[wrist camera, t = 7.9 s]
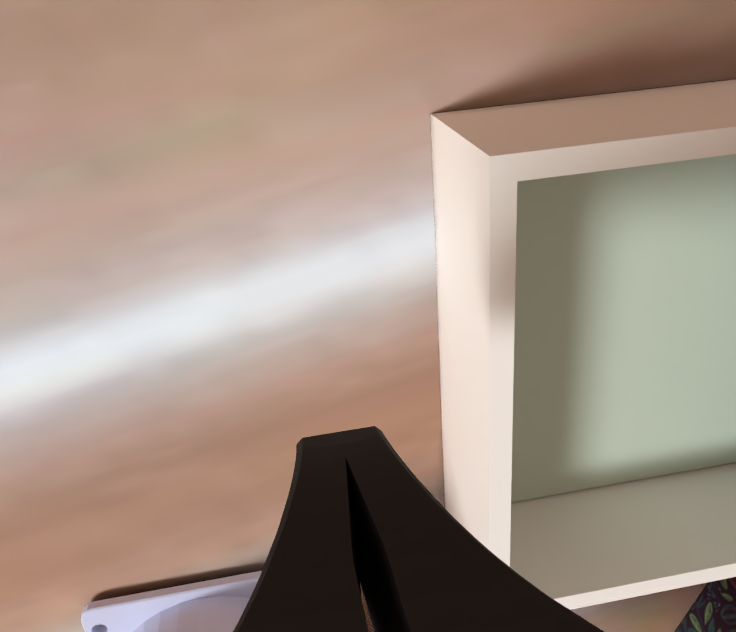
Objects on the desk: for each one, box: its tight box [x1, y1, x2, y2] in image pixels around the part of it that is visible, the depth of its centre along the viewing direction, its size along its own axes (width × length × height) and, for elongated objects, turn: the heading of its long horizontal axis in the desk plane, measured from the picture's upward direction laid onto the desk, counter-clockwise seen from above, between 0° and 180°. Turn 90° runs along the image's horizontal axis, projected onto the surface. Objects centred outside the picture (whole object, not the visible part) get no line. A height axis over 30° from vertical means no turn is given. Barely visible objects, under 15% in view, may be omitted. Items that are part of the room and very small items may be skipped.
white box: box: [431, 79, 736, 610], centre depth 20 cm, size 14×16×5 cm
